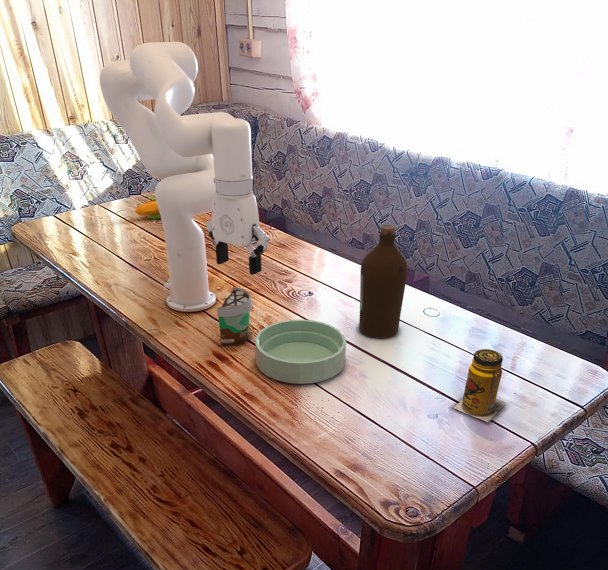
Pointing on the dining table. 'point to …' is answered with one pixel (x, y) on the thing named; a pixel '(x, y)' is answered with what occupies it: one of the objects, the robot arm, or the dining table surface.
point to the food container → (235, 317)
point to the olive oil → (382, 287)
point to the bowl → (300, 351)
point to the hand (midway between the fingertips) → (238, 267)
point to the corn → (149, 209)
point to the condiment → (482, 386)
